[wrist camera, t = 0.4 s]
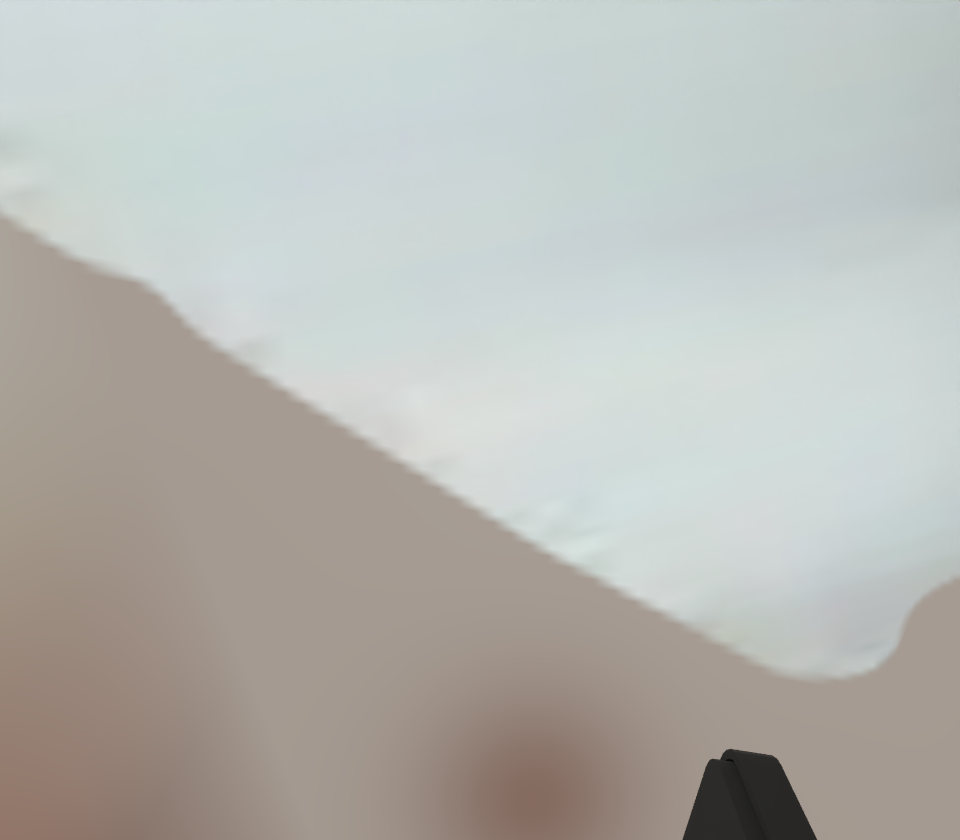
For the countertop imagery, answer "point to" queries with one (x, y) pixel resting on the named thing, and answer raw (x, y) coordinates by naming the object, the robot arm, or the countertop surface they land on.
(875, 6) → the countertop surface
